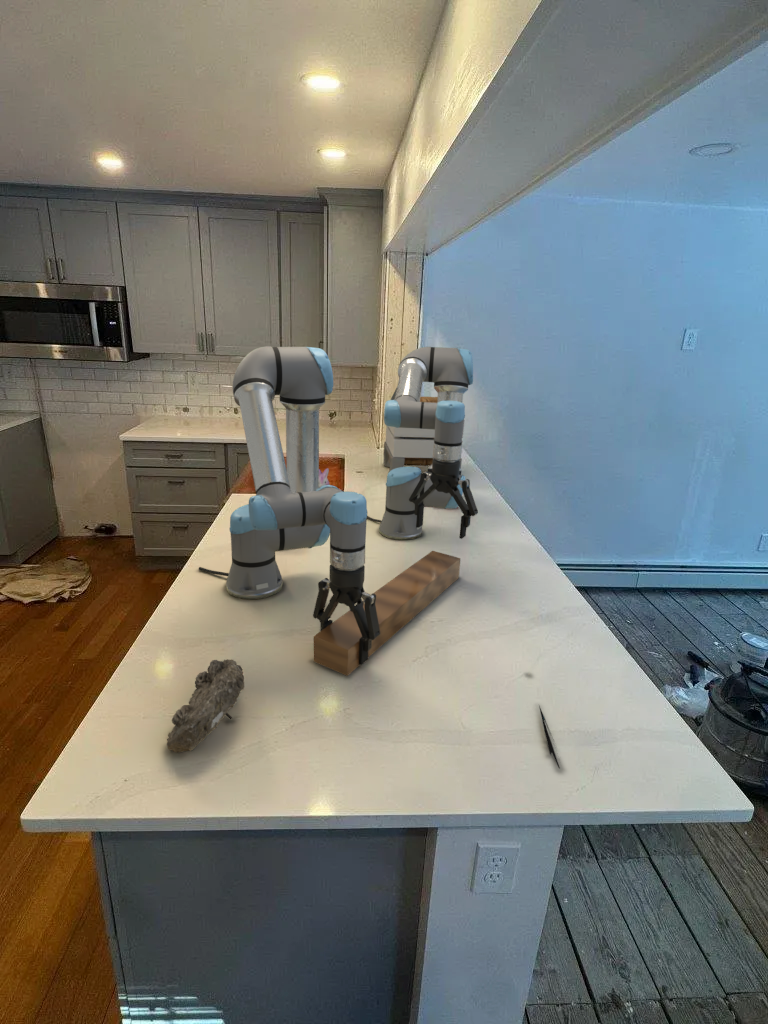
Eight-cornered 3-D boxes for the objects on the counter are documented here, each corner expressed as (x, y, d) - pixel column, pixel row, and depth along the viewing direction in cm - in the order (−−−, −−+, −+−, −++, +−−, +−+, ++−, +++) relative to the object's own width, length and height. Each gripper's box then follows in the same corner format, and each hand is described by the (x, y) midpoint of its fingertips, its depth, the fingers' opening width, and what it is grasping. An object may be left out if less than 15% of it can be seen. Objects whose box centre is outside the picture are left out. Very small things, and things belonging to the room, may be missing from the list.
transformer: (382, 463, 289) (386, 382, 275) (445, 464, 293) (451, 384, 279) (390, 482, 257) (394, 392, 243) (460, 483, 261) (468, 394, 247)
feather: (529, 679, 125) (535, 673, 125) (559, 773, 99) (566, 766, 98) (523, 675, 125) (528, 669, 125) (551, 768, 98) (558, 761, 98)
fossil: (192, 660, 117) (244, 628, 112) (224, 691, 120) (276, 661, 115) (142, 746, 98) (202, 712, 93) (182, 779, 101) (242, 748, 96)
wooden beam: (431, 570, 173) (432, 550, 171) (458, 578, 169) (460, 558, 167) (313, 661, 126) (313, 636, 124) (347, 676, 122) (348, 649, 120)
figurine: (318, 511, 218) (318, 473, 213) (309, 502, 226) (309, 466, 221) (341, 508, 222) (341, 471, 217) (331, 500, 231) (331, 464, 226)
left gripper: (295, 557, 123) (296, 646, 131) (381, 584, 113) (377, 679, 120) (317, 546, 129) (316, 631, 137) (400, 571, 119) (395, 662, 126)
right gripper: (399, 454, 157) (396, 525, 164) (484, 470, 145) (476, 546, 152) (412, 449, 163) (408, 518, 170) (494, 464, 151) (486, 537, 158)
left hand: (345, 654), depth 129 cm, fingers closed on wooden beam, 9 cm apart
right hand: (440, 531), depth 161 cm, fingers open, 13 cm apart
